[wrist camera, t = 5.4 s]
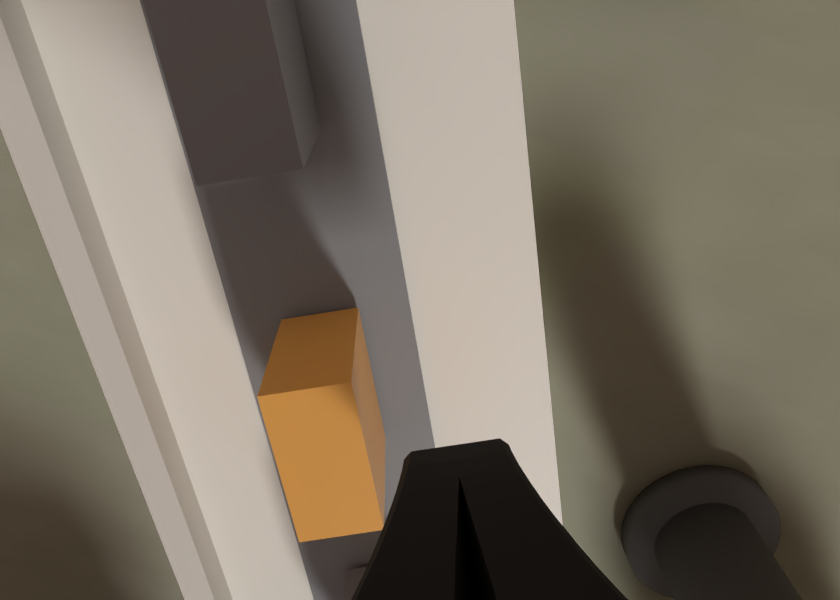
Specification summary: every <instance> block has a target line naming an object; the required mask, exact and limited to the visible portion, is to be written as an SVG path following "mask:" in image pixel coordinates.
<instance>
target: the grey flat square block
mask: <svg viewBox="0 0 840 600" xmlns="http://www.w3.org/2000/svg"><path fill="white" fill-rule="evenodd" d="M365 570H366V567H362V568H355V569H348V570H346V581H345V595H344V600H351V599H352V597H353V595H354V593H355V591H356V588H357V586H358V584H359V582H360V580H361V578H362V576H363V574H364V572H365Z"/></svg>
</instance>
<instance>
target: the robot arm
mask: <svg viewBox="0 0 840 600" xmlns="http://www.w3.org/2000/svg"><path fill="white" fill-rule="evenodd" d="M351 600H628V599H627V598H626V597H625V596H624V595H623V594H622V593H621V592H620V591H619V590H618V589H617V588H616V587H615V586H614V585H613V583H612V582H611V581H610V580H609V579H608V578H607V577H606V576H605V575H604V574H603V573H602V572H601V570H600V569H599V568H598V567H597V566H596V565H595V564H594V563H593V562H592V560H591V559H590V558H589V557H588V556H587V555H586V553H585V552H584V551H583V550H582V549H581V548H580V547H579V545H578V544H577V543H576V542H575V540H574V539H573V538H572V537H571V535H570V534H569V533H568V532H567V530H566V529H565V528H564V527H563V526H562V524H561V523H560V522H559V521H558V519H557V518H556V517H555V516H554V514H553V513H552V512H551V510H550V509H549V508H548V506H547V505H546V504H545V502H544V501H543V500H542V498H541V497H540V495H539V494H538V493H537V491H536V490H535V488H534V487H533V485H532V484H531V482H530V481H529V479H528V478H527V476H526V475H525V473H524V472H523V470H522V468H521V467H520V465H519V464H518V462H517V460H516V458H515V456H514V455H513V453H512V451H511V449H510V446H509V444H507V443H506V442H504V441H503V440H502V439H500V438H499V439H492V440H485V441H478V442H472V443H465V444H458V445H451V446H444V447H438V448H431V449H424V450H417V451H411V452H410V453H409V454H408V455H407V457H406V458H405V459H404V462H403V467H402V472H401V476H400V479H399V483H398V486H397V490H396V493H395V496H394V499H393V502H392V505H391V508H390V510H389V513H388V516H387V519H386V522H385V524H384V527H383V529H382V531H381V534H380V536H379V539H378V541H377V544H376V546H375V548H374V551H373V553H372V556H371V558H370V561H369V563H368V565H367V567H366V570H365V572H364V574H363V576H362V578H361V580H360V582H359V584H358V586H357V588H356V591H355V593H354V595H353V597H352V599H351Z"/></svg>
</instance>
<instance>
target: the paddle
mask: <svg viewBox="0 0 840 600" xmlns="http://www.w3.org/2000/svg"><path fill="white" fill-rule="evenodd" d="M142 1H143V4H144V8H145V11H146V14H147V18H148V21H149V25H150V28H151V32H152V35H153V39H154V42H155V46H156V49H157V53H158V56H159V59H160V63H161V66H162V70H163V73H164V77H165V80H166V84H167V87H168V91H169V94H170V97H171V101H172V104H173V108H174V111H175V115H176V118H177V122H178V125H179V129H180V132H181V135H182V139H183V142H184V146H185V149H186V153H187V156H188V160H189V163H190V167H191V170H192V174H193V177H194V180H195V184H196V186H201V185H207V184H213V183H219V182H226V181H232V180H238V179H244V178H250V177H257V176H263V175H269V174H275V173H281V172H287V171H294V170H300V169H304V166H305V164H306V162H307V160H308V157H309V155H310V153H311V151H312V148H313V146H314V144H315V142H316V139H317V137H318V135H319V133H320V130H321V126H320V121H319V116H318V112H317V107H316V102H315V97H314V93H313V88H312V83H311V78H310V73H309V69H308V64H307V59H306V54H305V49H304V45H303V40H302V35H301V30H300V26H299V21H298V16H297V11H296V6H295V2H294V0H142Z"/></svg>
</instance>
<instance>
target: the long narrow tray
mask: <svg viewBox="0 0 840 600" xmlns="http://www.w3.org/2000/svg"><path fill="white" fill-rule="evenodd" d="M294 2H295V6H296V11H297V16H298V21H299V26H300V30H301V35H302V40H303V45H304V49H305V54H306V59H307V64H308V69H309V73H310V78H311V83H312V88H313V93H314V97H315V102H316V107H317V112H318V116H319V121H320V126H321V130H320V133H319V135H318V137H317V139H316V142H315V144H314V146H313V148H312V151H311V153H310V155H309V157H308V160H307V162H306V164H305V166H304V169H300V170H294V171H287V172H281V173H275V174H269V175H263V176H257V177H250V178H244V179H238V180H232V181H226V182H219V183H213V184H207V185H201V186H196V184H195V180H194V177H193V174H192V170H191V167H190V163H189V160H188V156H187V153H186V149H185V146H184V142H183V139H182V135H181V132H180V129H179V125H178V122H177V118H176V115H175V111H174V108H173V104H172V101H171V97H170V94H169V91H168V87H167V84H166V80H165V77H164V73H163V70H162V66H161V63H160V59H159V56H158V53H157V49H156V46H155V42H154V39H153V35H152V32H151V28H150V25H149V21H148V18H147V14H146V11H145V8H144V4H143V1H142V0H0V129H1V131H2V134H3V136H4V139H5V141H6V144H7V146H8V149H9V152H10V154H11V157H12V159H13V162H14V164H15V167H16V169H17V172H18V175H19V177H20V180H21V182H22V185H23V187H24V190H25V193H26V195H27V198H28V200H29V203H30V205H31V208H32V210H33V213H34V216H35V218H36V221H37V223H38V226H39V228H40V231H41V233H42V236H43V239H44V241H45V244H46V246H47V249H48V251H49V254H50V257H51V259H52V262H53V264H54V267H55V269H56V272H57V274H58V277H59V280H60V282H61V285H62V287H63V290H64V292H65V295H66V297H67V300H68V303H69V305H70V308H71V310H72V313H73V315H74V318H75V321H76V323H77V326H78V328H79V331H80V333H81V336H82V338H83V341H84V344H85V346H86V349H87V351H88V354H89V356H90V359H91V361H92V364H93V367H94V369H95V372H96V374H97V377H98V379H99V382H100V385H101V387H102V390H103V392H104V395H105V397H106V400H107V402H108V405H109V408H110V410H111V413H112V415H113V418H114V420H115V423H116V425H117V428H118V431H119V433H120V436H121V438H122V441H123V443H124V446H125V449H126V451H127V454H128V456H129V459H130V461H131V464H132V466H133V469H134V472H135V474H136V477H137V479H138V482H139V484H140V487H141V489H142V492H143V495H144V497H145V500H146V502H147V505H148V507H149V510H150V513H151V515H152V518H153V520H154V523H155V525H156V528H157V530H158V533H159V536H160V538H161V541H162V543H163V546H164V548H165V551H166V553H167V556H168V559H169V561H170V564H171V566H172V569H173V571H174V574H175V577H176V579H177V582H178V584H179V587H180V589H181V592H182V594H183V597H184V600H344V595H345V581H346V570H348V569H355V568H362V567H367V565H368V563H369V561H370V558H371V556H372V553H373V551H374V548H375V546H376V544H377V541H378V539H379V536H380V534H381V531H382V530H380V531H373V532H367V533H360V534H353V535H346V536H339V537H332V538H326V539H319V540H312V541H305V542H299V540H298V537H297V533H296V530H295V526H294V523H293V519H292V516H291V512H290V509H289V505H288V502H287V498H286V495H285V492H284V488H283V485H282V481H281V478H280V474H279V471H278V467H277V464H276V460H275V457H274V454H273V450H272V447H271V443H270V440H269V436H268V433H267V429H266V426H265V422H264V419H263V416H262V412H261V409H260V405H259V402H258V398H257V395H258V392H259V389H260V386H261V383H262V379H263V376H264V373H265V370H266V367H267V363H268V360H269V357H270V354H271V351H272V348H273V344H274V341H275V338H276V335H277V332H278V329H279V325H280V322H281V319H288V318H294V317H300V316H307V315H313V314H320V313H326V312H332V311H339V310H345V309H352V308H359V312H360V317H361V322H362V327H363V332H364V336H365V341H366V346H367V351H368V356H369V360H370V365H371V370H372V375H373V379H374V384H375V389H376V394H377V399H378V403H379V408H380V413H381V418H382V423H383V427H384V432H385V512H384V524H385V522H386V519H387V516H388V513H389V510H390V508H391V505H392V502H393V499H394V496H395V493H396V490H397V486H398V483H399V479H400V476H401V472H402V467H403V462H404V459H405V458H406V457H407V455H408V454H409V453H410V452H411V451H417V450H424V449H431V448H438V447H444V446H451V445H458V444H465V443H472V442H478V441H485V440H492V439H499V438H500V439H502V440H503V441H504V442H506V443H507V444H509V446H510V449H511V451H512V453H513V455H514V456H515V458H516V460H517V462H518V464H519V465H520V467H521V468H522V470H523V472H524V473H525V475H526V476H527V478H528V479H529V481H530V482H531V484H532V485H533V487H534V488H535V490H536V491H537V493H538V494H539V495H540V497H541V498H542V500H543V501H544V502H545V504H546V505H547V506H548V508H549V509H550V510H551V512H552V513H553V514H554V516H555V517H556V518H557V519H558V521H559V522H560V523H561V524H562V514H561V503H560V493H559V482H558V471H557V461H556V450H555V439H554V428H553V418H552V407H551V396H550V386H549V375H548V364H547V353H546V343H545V332H544V321H543V310H542V300H541V289H540V278H539V268H538V257H537V246H536V235H535V225H534V214H533V203H532V193H531V182H530V171H529V160H528V150H527V139H526V128H525V117H524V107H523V96H522V85H521V75H520V64H519V53H518V42H517V32H516V21H515V10H514V0H294ZM562 526H563V525H562Z"/></svg>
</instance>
